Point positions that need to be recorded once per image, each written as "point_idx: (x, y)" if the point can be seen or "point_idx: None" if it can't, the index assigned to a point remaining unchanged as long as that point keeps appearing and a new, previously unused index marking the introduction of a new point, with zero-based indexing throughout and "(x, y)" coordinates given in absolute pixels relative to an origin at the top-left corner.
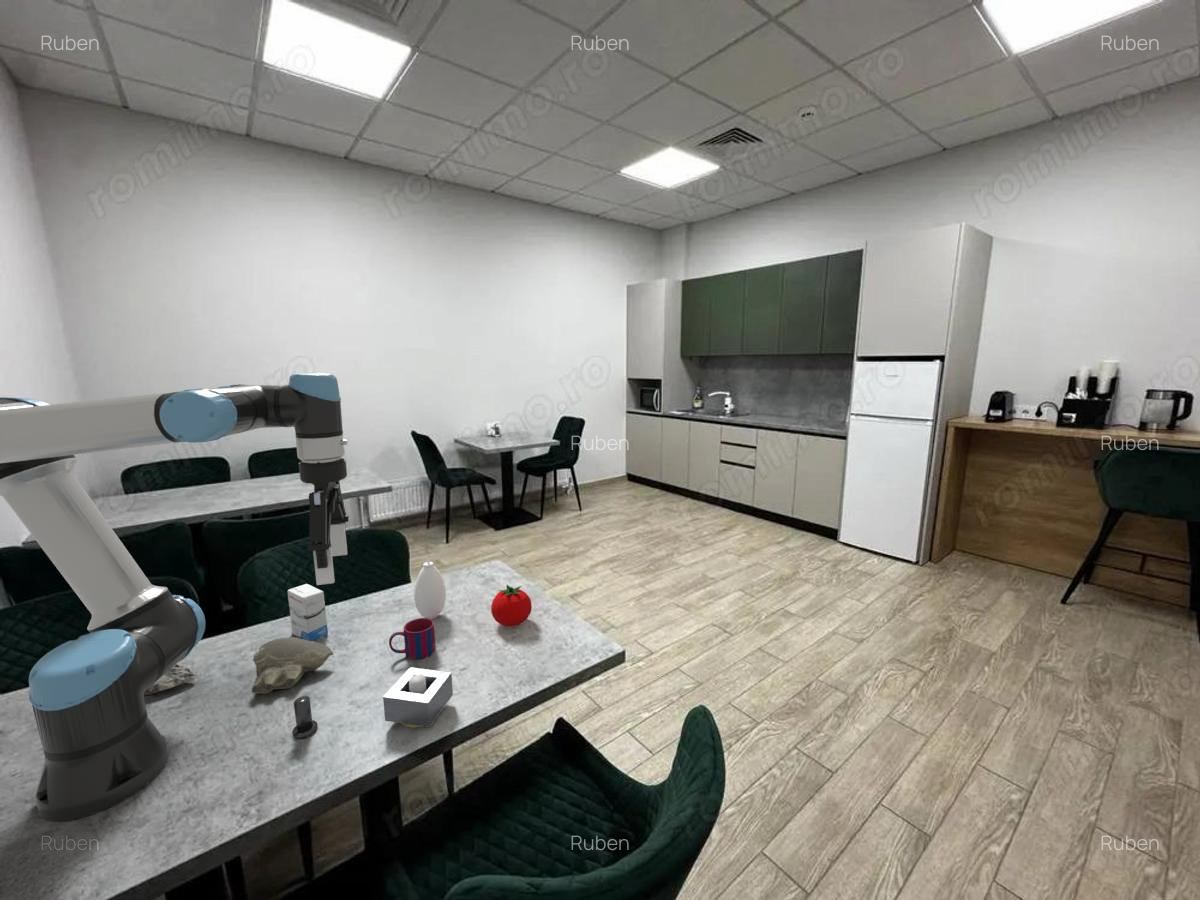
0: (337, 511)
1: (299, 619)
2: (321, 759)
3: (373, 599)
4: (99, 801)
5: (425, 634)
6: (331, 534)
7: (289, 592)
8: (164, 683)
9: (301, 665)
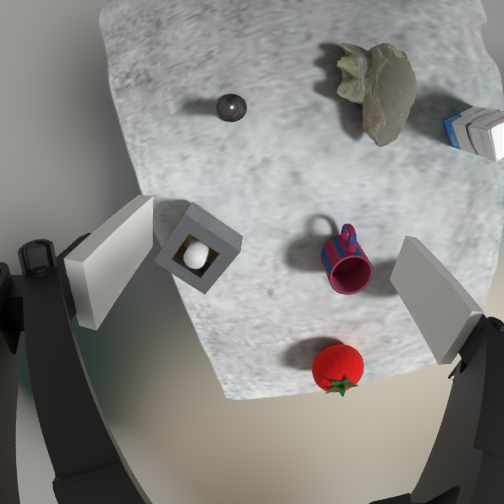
0: (447, 424)
1: (474, 116)
2: (171, 132)
3: (495, 214)
4: None
5: (328, 278)
6: (445, 289)
7: None
8: None
9: (363, 102)
